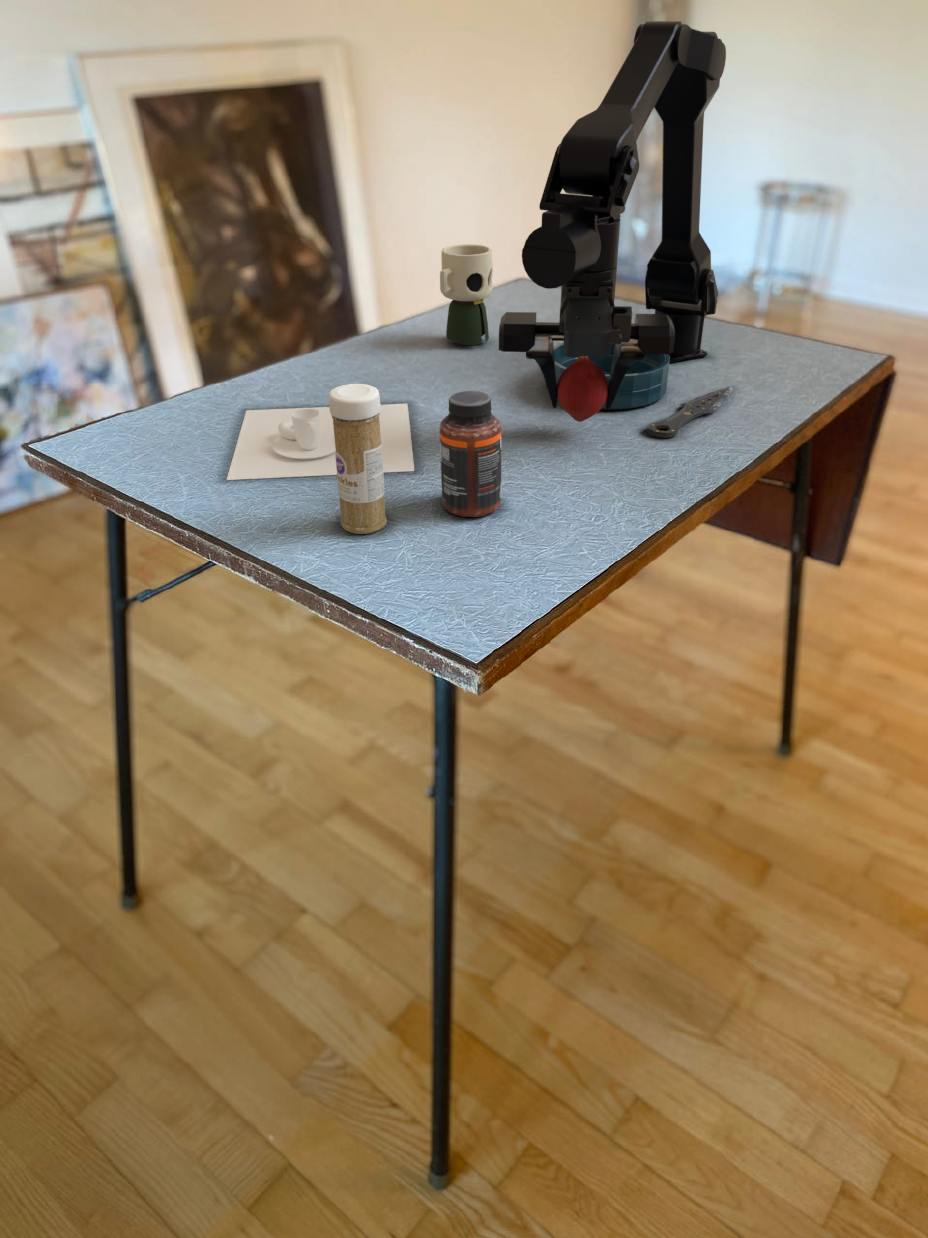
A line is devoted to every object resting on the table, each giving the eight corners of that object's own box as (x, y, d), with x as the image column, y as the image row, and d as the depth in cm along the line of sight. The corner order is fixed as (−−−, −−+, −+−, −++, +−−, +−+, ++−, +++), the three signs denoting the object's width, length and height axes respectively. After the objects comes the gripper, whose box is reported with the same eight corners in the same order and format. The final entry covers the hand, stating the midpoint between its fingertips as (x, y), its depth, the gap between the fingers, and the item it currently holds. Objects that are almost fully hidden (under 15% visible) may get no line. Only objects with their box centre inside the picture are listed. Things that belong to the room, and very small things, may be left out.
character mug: (461, 356, 132) (460, 260, 125) (424, 346, 136) (421, 252, 129) (509, 337, 139) (511, 245, 132) (473, 328, 143) (472, 239, 135)
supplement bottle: (510, 499, 95) (512, 391, 88) (486, 524, 90) (487, 412, 84) (457, 488, 97) (455, 382, 90) (431, 513, 92) (427, 403, 86)
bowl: (623, 363, 129) (626, 331, 126) (689, 399, 117) (694, 364, 115) (525, 380, 123) (526, 347, 121) (585, 420, 112) (587, 383, 109)
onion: (605, 412, 110) (610, 344, 105) (606, 431, 105) (612, 361, 100) (555, 411, 110) (558, 343, 106) (554, 430, 105) (557, 360, 101)
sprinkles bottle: (331, 526, 90) (317, 392, 83) (364, 509, 93) (354, 378, 86) (364, 540, 88) (353, 403, 80) (398, 523, 91) (390, 389, 83)
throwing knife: (638, 431, 108) (638, 426, 108) (718, 384, 121) (718, 379, 121) (671, 440, 106) (672, 435, 106) (749, 391, 119) (750, 386, 118)
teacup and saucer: (276, 432, 110) (271, 399, 107) (344, 429, 110) (341, 396, 108) (269, 464, 102) (265, 428, 100) (342, 460, 103) (339, 425, 101)
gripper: (496, 285, 92) (495, 433, 101) (688, 287, 90) (670, 437, 99) (502, 257, 101) (500, 396, 110) (676, 259, 100) (661, 399, 108)
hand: (581, 407), depth 107 cm, fingers closed on onion, 6 cm apart
